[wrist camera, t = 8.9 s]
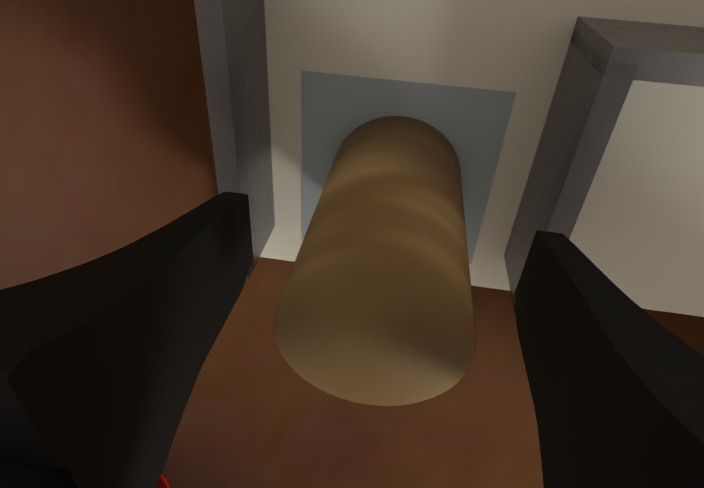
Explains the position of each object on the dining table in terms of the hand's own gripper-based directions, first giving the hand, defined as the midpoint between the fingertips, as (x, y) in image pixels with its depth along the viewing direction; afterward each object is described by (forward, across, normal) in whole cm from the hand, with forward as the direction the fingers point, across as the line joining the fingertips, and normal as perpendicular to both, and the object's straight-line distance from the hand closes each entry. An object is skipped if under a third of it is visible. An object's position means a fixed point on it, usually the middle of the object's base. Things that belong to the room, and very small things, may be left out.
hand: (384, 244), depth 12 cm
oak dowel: (+4, 0, 0) cm, 4 cm away
